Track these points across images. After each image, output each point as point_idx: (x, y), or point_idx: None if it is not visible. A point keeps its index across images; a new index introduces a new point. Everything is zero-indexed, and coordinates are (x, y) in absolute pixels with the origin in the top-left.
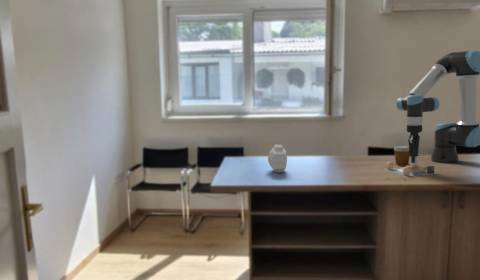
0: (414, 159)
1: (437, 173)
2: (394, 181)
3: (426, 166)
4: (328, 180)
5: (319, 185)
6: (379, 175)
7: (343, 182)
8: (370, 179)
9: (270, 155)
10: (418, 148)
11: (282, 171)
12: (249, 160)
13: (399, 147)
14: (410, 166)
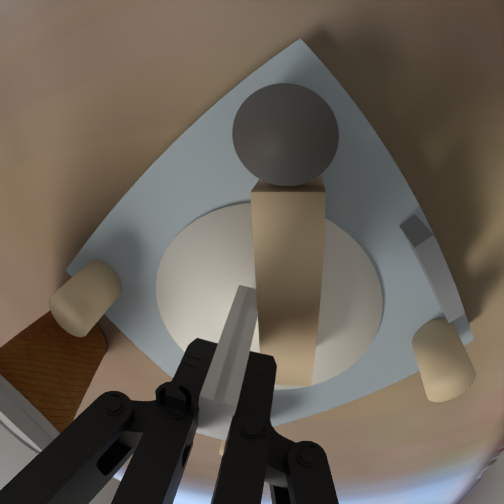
0: (258, 389)
1: (289, 59)
2: (494, 360)
3: (253, 193)
4: (434, 482)
5: (481, 471)
6: (356, 428)
7: (465, 460)
8: (440, 433)
9: None
10: (51, 451)
11: None
12: None
13: (28, 439)
14: (308, 356)
